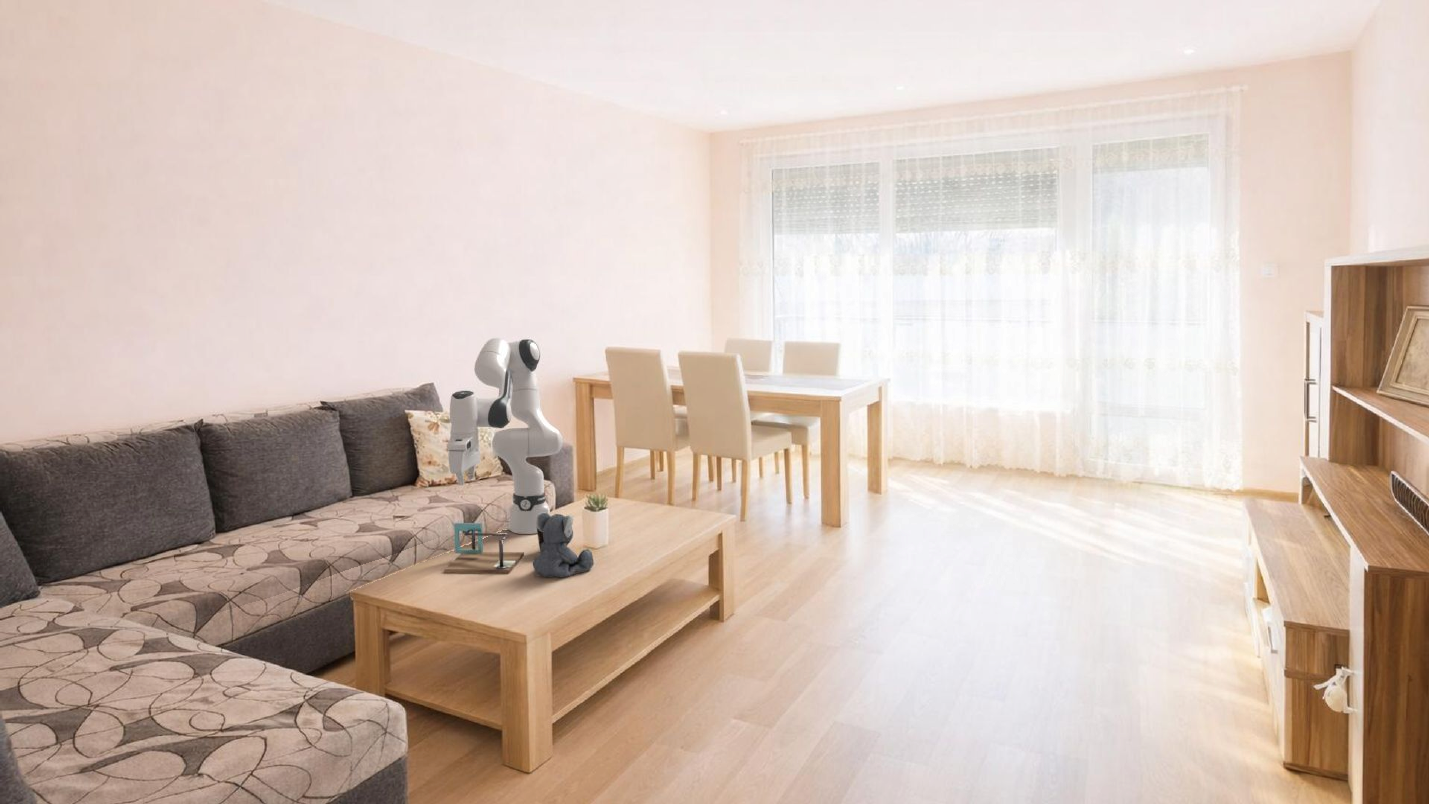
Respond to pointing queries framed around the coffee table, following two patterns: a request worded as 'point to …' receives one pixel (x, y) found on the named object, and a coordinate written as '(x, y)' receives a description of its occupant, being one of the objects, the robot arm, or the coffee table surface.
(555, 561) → the koala plush
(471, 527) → the teal picture frame
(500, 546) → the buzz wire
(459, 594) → the coffee table surface
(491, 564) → the board
